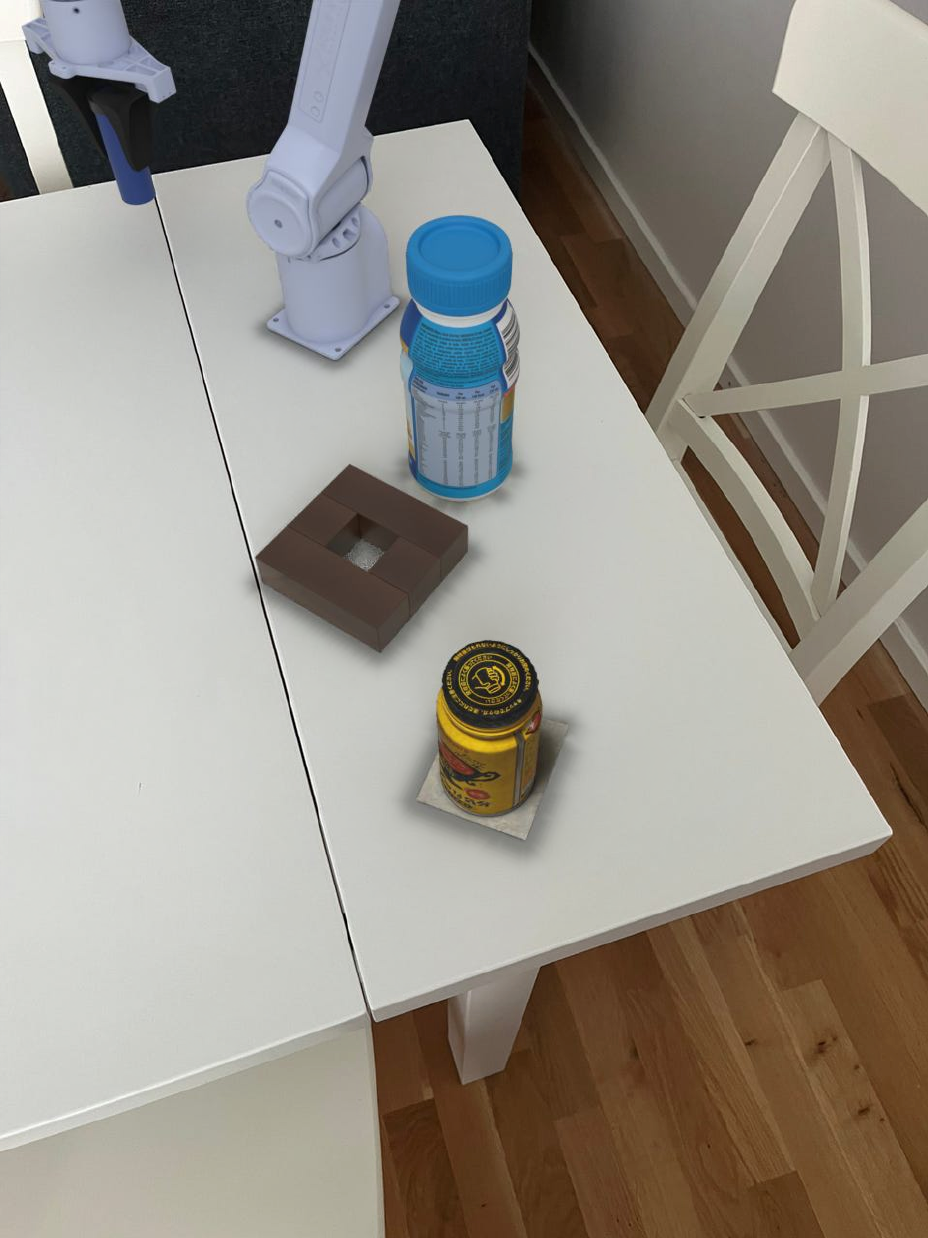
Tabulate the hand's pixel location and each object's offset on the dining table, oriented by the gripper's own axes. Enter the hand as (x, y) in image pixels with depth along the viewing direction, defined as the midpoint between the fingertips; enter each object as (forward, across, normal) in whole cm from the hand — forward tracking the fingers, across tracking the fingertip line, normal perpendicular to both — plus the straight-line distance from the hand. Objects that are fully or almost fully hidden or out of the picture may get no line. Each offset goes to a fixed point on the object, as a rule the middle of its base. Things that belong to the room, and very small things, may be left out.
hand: (127, 158), depth 84 cm
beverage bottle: (+11, +38, -5) cm, 40 cm away
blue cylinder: (+3, 0, 0) cm, 3 cm away
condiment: (+11, +55, -25) cm, 61 cm away
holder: (+10, +38, -17) cm, 43 cm away
